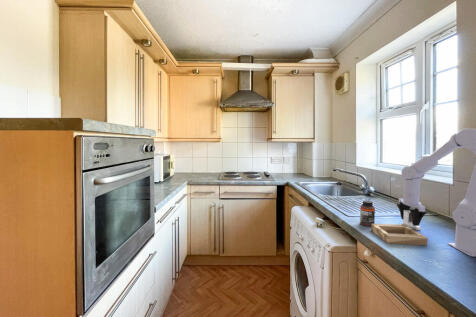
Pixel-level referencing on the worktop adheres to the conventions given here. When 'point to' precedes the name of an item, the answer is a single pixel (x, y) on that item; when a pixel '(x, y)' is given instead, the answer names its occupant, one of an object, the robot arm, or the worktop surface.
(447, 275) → the worktop surface
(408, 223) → the stepped metal bar
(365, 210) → the supplement bottle
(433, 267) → the worktop surface
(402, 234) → the well block
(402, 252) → the worktop surface
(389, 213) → the worktop surface
